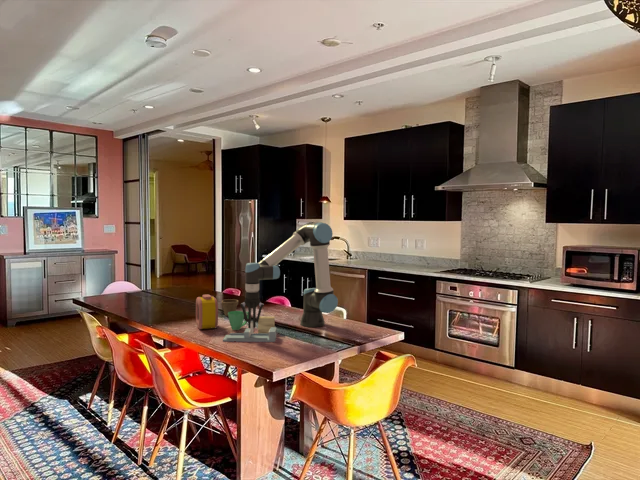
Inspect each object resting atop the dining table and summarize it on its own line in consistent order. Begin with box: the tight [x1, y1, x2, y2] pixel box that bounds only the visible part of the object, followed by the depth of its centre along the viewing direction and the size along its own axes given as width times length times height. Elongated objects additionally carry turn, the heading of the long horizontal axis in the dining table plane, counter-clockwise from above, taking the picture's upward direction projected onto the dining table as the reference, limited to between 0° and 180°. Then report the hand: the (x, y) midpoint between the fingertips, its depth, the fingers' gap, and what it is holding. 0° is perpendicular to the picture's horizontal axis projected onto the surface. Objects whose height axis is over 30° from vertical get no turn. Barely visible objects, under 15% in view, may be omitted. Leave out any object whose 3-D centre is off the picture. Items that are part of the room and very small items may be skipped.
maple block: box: [257, 315, 276, 333], centre depth 265 cm, size 5×9×9 cm, turn 91°
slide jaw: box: [243, 327, 251, 338], centre depth 251 cm, size 9×3×4 cm, turn 1°
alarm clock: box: [195, 294, 219, 330], centre depth 275 cm, size 18×11×19 cm, turn 22°
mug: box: [227, 310, 248, 331], centre depth 274 cm, size 15×10×10 cm
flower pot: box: [220, 298, 239, 317], centre depth 310 cm, size 12×11×10 cm
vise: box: [222, 326, 277, 343], centre depth 251 cm, size 10×28×6 cm, turn 91°
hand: (251, 333), depth 251 cm, fingers closed
